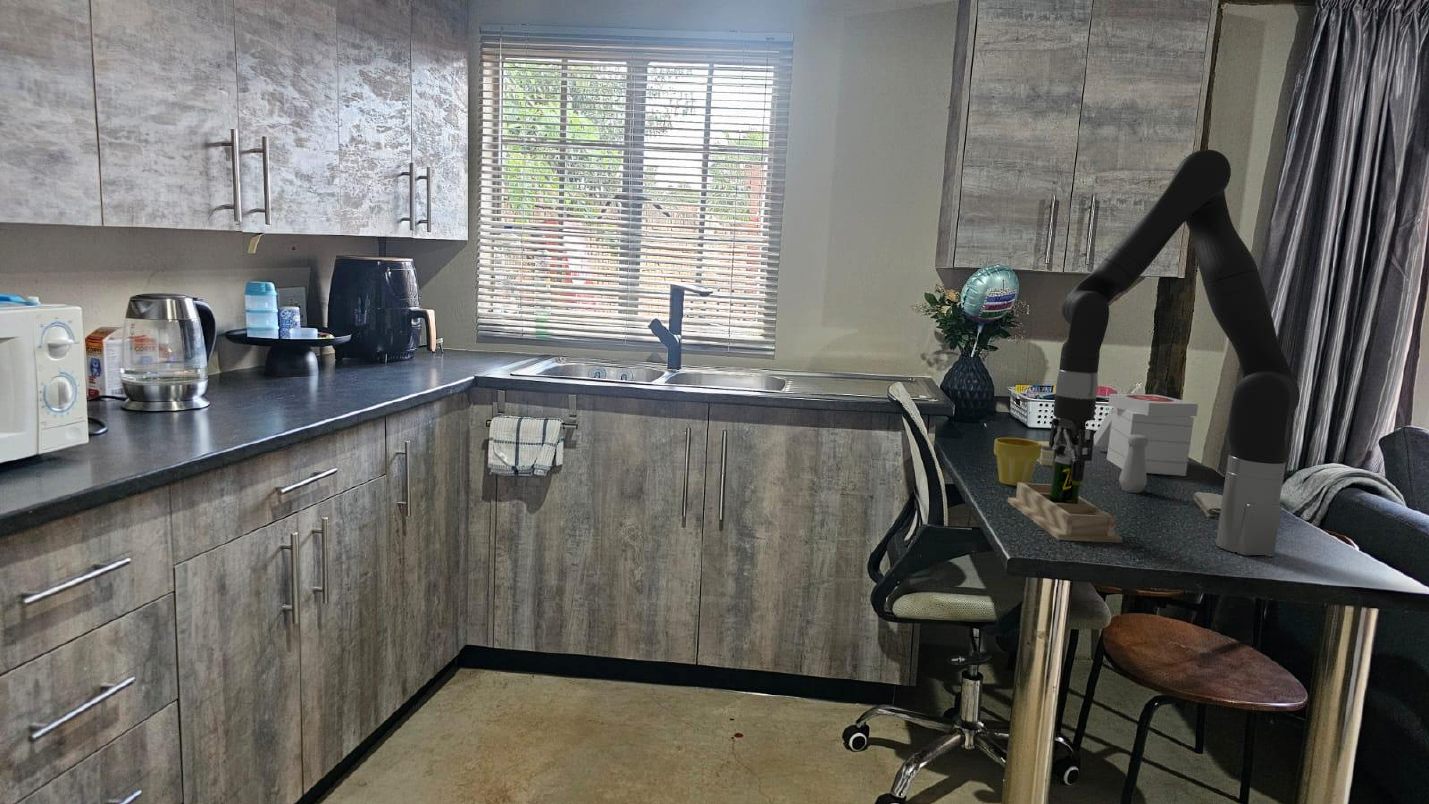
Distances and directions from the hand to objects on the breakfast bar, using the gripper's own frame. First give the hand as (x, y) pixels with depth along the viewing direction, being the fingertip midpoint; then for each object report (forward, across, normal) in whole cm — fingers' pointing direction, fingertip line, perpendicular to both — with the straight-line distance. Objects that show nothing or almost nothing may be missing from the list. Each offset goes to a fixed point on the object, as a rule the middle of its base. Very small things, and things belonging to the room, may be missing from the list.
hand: (1066, 476), depth 192 cm
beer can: (+8, 0, 0) cm, 8 cm away
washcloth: (+10, +15, -43) cm, 47 cm away
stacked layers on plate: (+9, +57, -21) cm, 61 cm away
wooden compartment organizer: (+9, +1, 0) cm, 9 cm away
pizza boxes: (+9, +64, -48) cm, 80 cm away
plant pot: (+9, +33, -2) cm, 34 cm away
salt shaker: (+9, +30, -29) cm, 43 cm away
